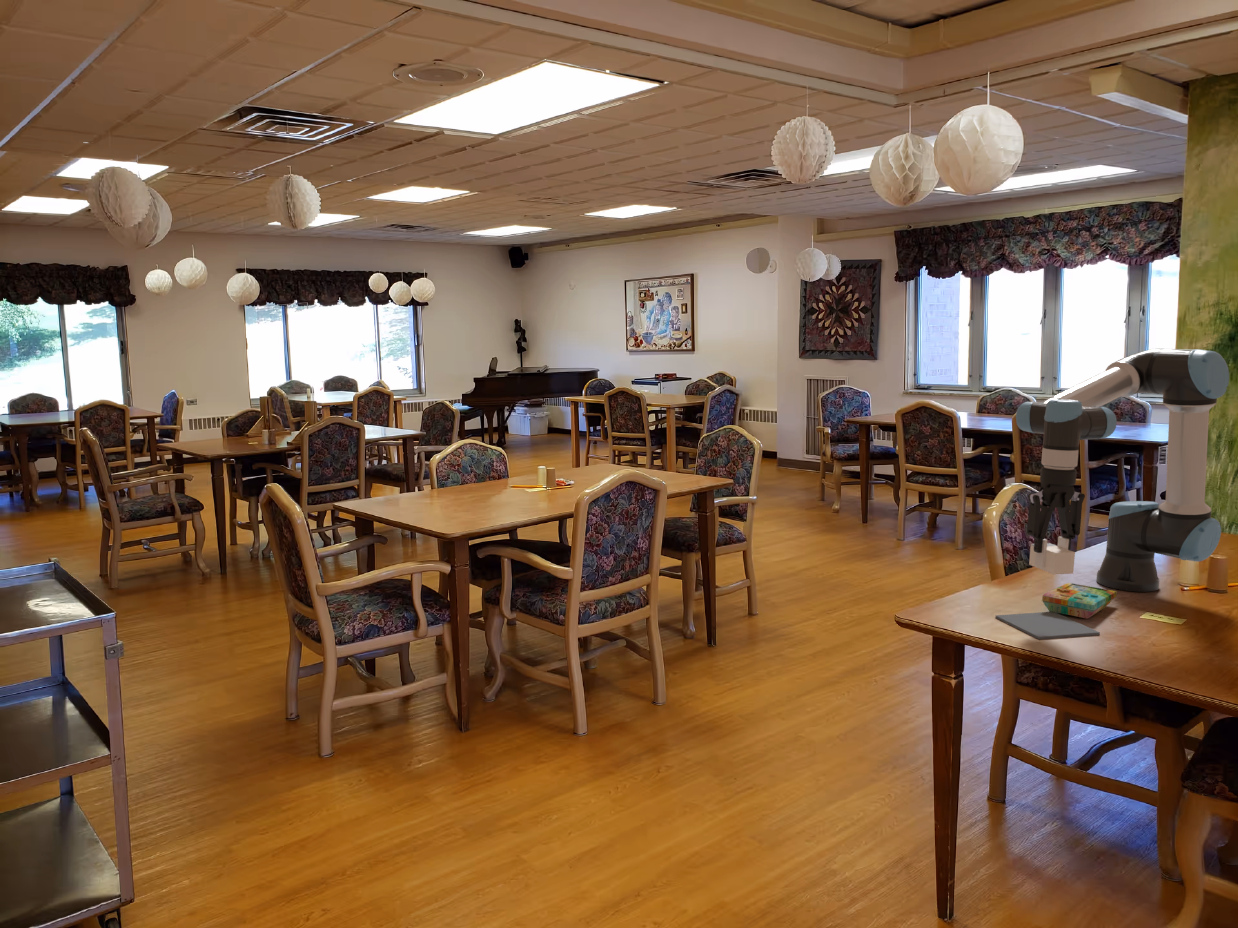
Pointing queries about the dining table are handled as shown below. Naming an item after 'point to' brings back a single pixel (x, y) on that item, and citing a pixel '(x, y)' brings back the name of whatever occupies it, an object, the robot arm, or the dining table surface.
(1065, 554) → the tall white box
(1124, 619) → the dining table surface
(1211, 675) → the dining table surface
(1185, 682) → the dining table surface
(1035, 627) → the mat
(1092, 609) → the puzzle game
